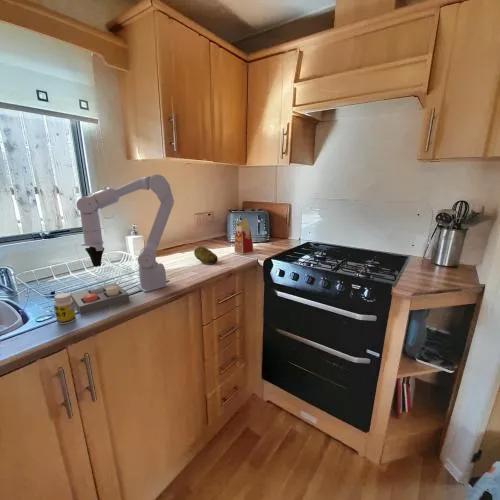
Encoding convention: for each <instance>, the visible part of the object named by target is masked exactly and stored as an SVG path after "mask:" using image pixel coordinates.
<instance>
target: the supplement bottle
mask: <svg viewBox="0 0 500 500" xmlns="http://www.w3.org/2000/svg"><path fill="white" fill-rule="evenodd" d="M53 307H54V310H55V317H56V322H57V323H58V324H59V325H67V324H70V323H71V324H72V323H73V322H75V320H76V319H77V318H76V310H75V305H74V304H73V300H72V299H71V294H70V292H61V293H59V294H56V295H54V304H53Z"/></svg>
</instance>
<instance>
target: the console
mask: <svg viewBox="0 0 500 500" xmlns="http://www.w3.org/2000/svg"><path fill="white" fill-rule="evenodd" d="M101 286H102V287H103V291H104V292H101V293H97V299H98V300H96V301H92V302H88V303H84V300H83V297H84V296H85V295H88V294H91V291H90V289H91V288H87V289H84V290H83V289H82V290H80V291H75V292H71V293H70V292H69V293H70V295H71V299H72V300H73V304H74V308H75V309H76V310H77V312H78V313H79V314H80V316H83V315H87V314H90V313H94V312H97V311H98V312H99V311H101V310H104V309H108V308H112V307H115V306H119V305H123V304H126V303H128V302H130V294H129V292H127V291H126V290H125V289H124V288H122V286H120V285H119V284H117V283H116V282H114V283H109V284H106V285H105V284H104V285H101ZM110 286H118V288H119V295H115V296H111V297H107V295H106V288H107V287H110Z"/></svg>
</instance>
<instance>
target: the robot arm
mask: <svg viewBox="0 0 500 500" xmlns="http://www.w3.org/2000/svg"><path fill="white" fill-rule="evenodd" d="M140 190H144V191H145V190H146V191H150V190H151V191H152V193H154V194H155V195H156V196H157V199H158V200H159V202H160V205H159V207H158V210H157V212H156V215H155V219H154V221H153V224H152V226H151V229H150V231H149V235H148V237H147V240H146V243H145V246H144V247H142V248H141V249H140V252H139V255H138V257H137V263H138V273H139V274H138V275H139V283H140V284H138V285H136V287H137V288H138V289H139V290H141V291H143V293H146V292H150V291H154V290H158V289H161V288H165V287H168V284H167V276H166V275H167V273H166V267H165V266H164V264H163V263H158V261H157V260H156V257H157V251H158V247H159V244H160V242H161V240H162V236H163V234H164V231H165V228H166V225H167V222H168V220H169V217H170V215H171V212H172V209H173V206H174V205H175V200H174V196H173V193H172V189H171V185H170V183H169V182H168V180H167V179H166V178H165V177H164V176H163V175H162V174H158V173H157V174H153V175H151V176H146V177H145V176H144V177H140V178H137V179H135V180H133V181H130V182H128V183H125V184H124V185H122V186H119V187H117V188H114V187H112V186H108V187H107V186H104V187H102V190H99V191H96V192H94V193H93V192H90V193H88V195H87V196H86V195H85V196H81V197H80V198H78V200H77V201H76V207H77V210H78V211H79V213H80V220H81V229H82V233H83V234H82V235H83V241H84V242H81V243H80V246H81V247H84V246H85V248H84V251H86V252H87V254H88V256H89V258H90V260H91V263H92V265H93V267H95V268H96V267H101V265H102V260H103V259H102V258H103V254H104V252H105V246H104V240H103V236H102V228H101V227H102V226H101V222H100V221H101V220H100V216H99V209H100V210H102V209H103V208H106V207H110V206H111V205H114V204H117V203H118V202H119V200H120V198H121V197H123V196H126V195H128V194H131V193H134V192H136V191H140Z"/></svg>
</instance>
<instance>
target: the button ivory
mask: <svg viewBox="0 0 500 500" xmlns="http://www.w3.org/2000/svg"><path fill="white" fill-rule="evenodd" d="M106 295H107V297H111V296H115V295H119V288H118V286H110V287H107V288H106Z"/></svg>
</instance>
